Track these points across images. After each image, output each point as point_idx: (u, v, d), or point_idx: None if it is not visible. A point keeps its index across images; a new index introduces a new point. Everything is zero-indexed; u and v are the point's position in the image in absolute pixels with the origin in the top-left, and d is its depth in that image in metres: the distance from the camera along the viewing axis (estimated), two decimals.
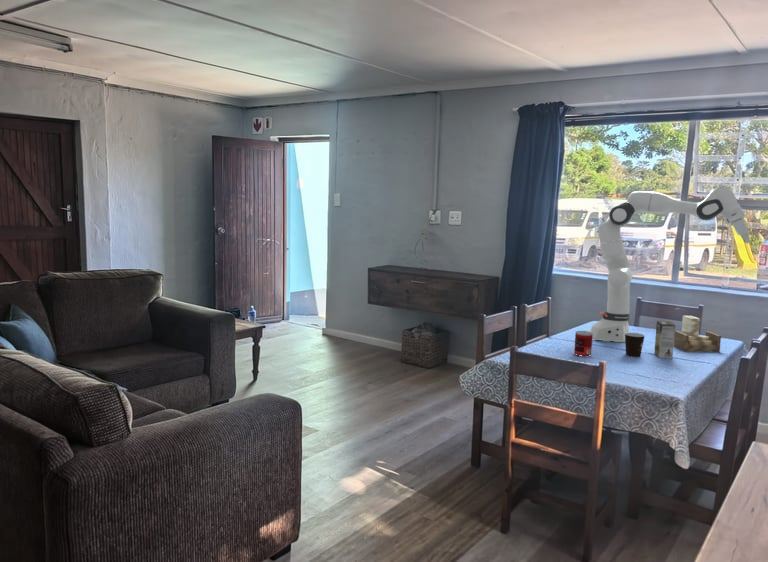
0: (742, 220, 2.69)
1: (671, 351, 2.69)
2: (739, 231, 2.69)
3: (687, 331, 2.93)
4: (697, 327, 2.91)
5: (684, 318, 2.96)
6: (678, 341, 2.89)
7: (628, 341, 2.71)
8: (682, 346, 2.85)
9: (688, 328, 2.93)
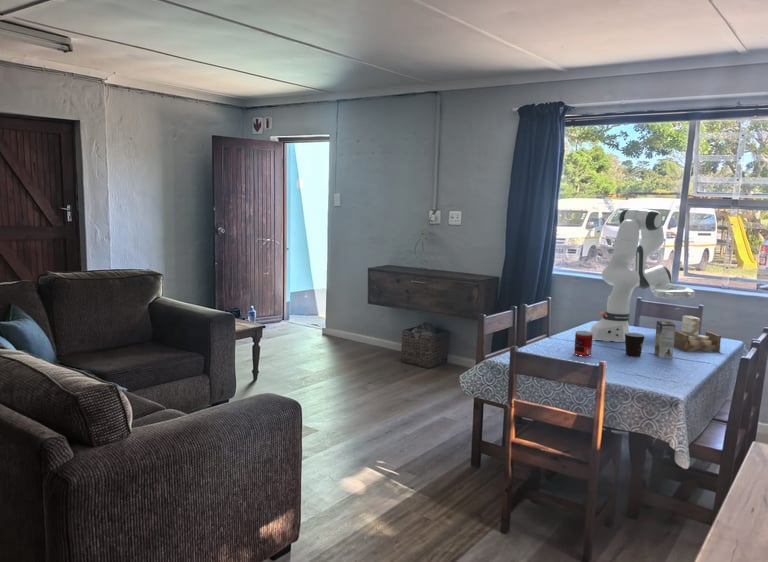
0: None
1: (671, 351, 2.69)
2: None
3: (687, 331, 2.93)
4: (697, 327, 2.91)
5: (684, 318, 2.96)
6: (678, 341, 2.89)
7: (628, 341, 2.71)
8: (682, 346, 2.85)
9: (688, 328, 2.93)
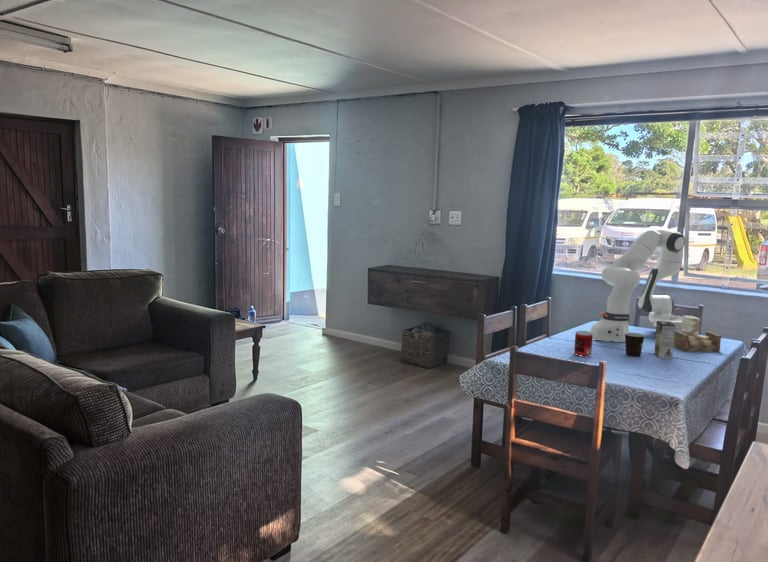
0: None
1: (671, 351, 2.69)
2: None
3: (687, 331, 2.93)
4: (697, 327, 2.91)
5: (684, 318, 2.96)
6: (678, 341, 2.89)
7: (628, 341, 2.71)
8: (682, 346, 2.85)
9: (688, 328, 2.93)
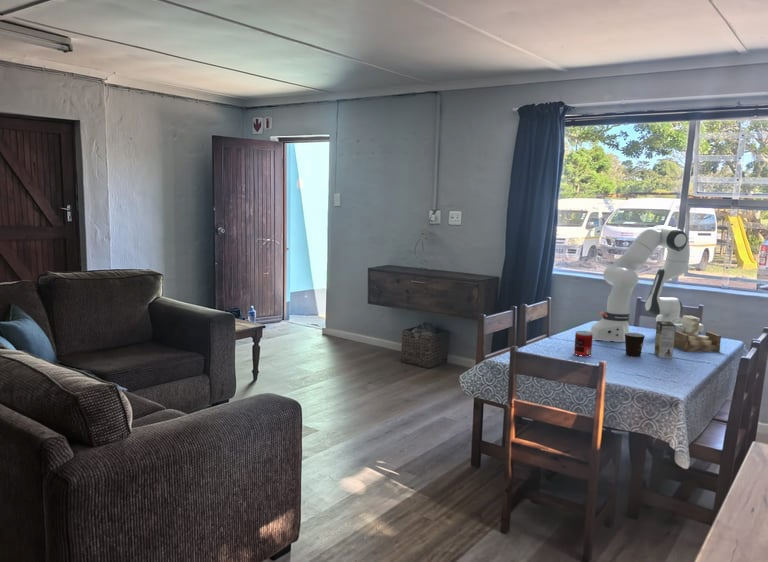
0: None
1: (671, 351, 2.69)
2: None
3: (687, 331, 2.93)
4: (697, 327, 2.91)
5: (684, 318, 2.96)
6: (678, 341, 2.89)
7: (628, 341, 2.71)
8: (682, 346, 2.85)
9: (688, 328, 2.93)
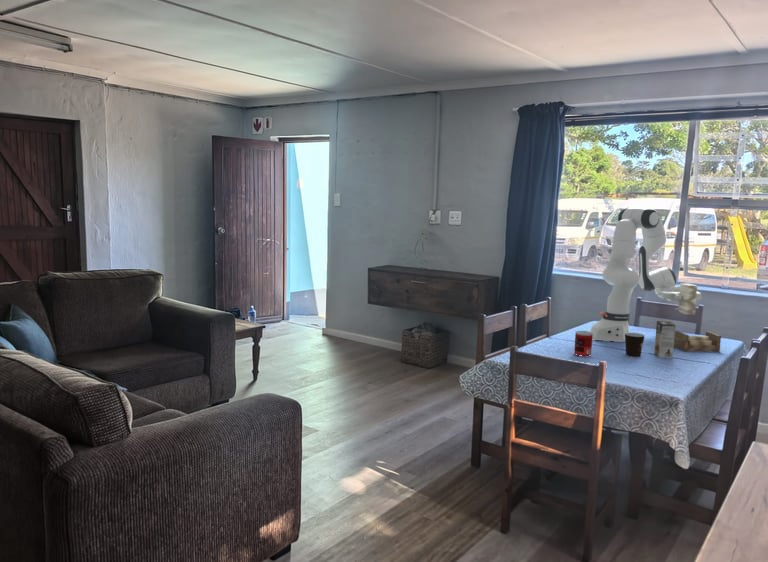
0: None
1: (671, 351, 2.69)
2: None
3: (685, 298, 2.96)
4: (694, 294, 2.93)
5: (682, 286, 2.99)
6: (678, 341, 2.89)
7: (628, 341, 2.71)
8: (682, 346, 2.85)
9: (685, 295, 2.95)
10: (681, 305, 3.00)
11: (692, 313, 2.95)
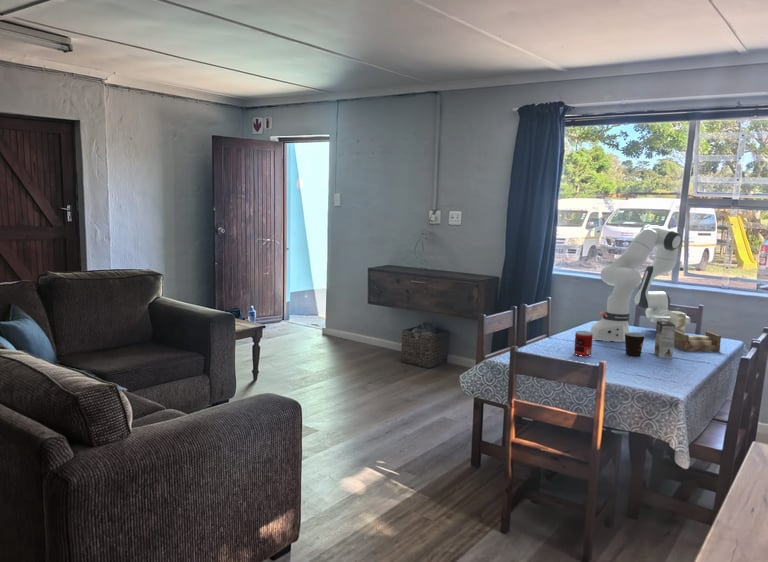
0: None
1: (671, 351, 2.69)
2: None
3: None
4: (683, 322, 3.04)
5: (671, 313, 3.09)
6: (678, 341, 2.89)
7: (628, 341, 2.71)
8: (682, 346, 2.85)
9: (675, 322, 3.05)
10: None
11: None
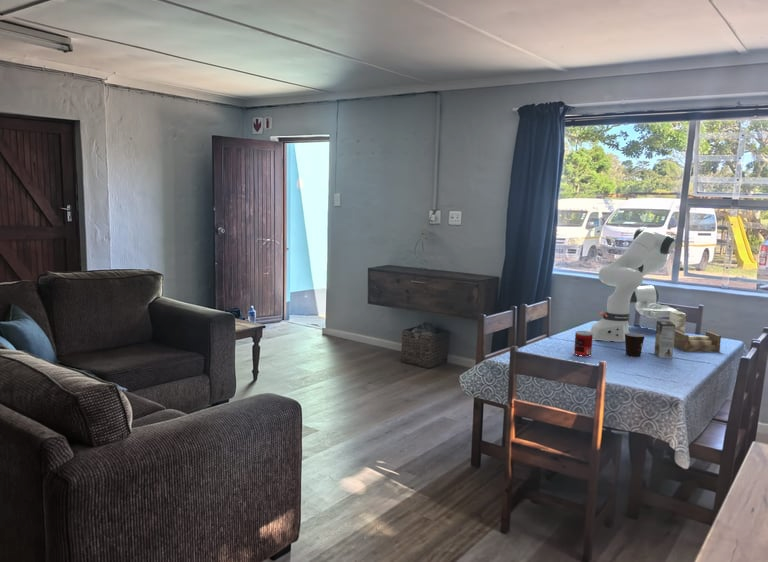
0: None
1: (671, 351, 2.69)
2: None
3: None
4: (683, 322, 3.04)
5: (671, 313, 3.09)
6: (678, 341, 2.89)
7: (628, 341, 2.71)
8: (682, 346, 2.85)
9: (675, 322, 3.05)
10: None
11: None
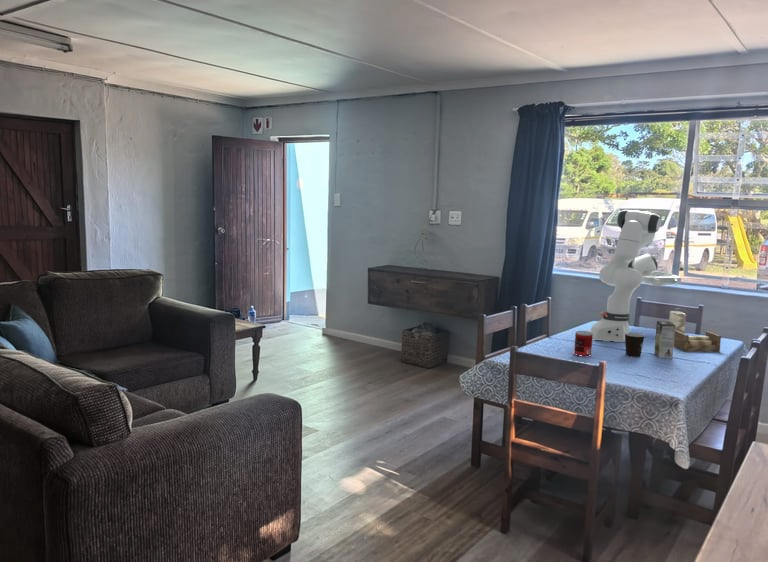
0: None
1: (671, 351, 2.69)
2: None
3: None
4: (683, 322, 3.04)
5: (671, 313, 3.09)
6: (678, 341, 2.89)
7: (628, 341, 2.71)
8: (682, 346, 2.85)
9: (675, 322, 3.05)
10: None
11: None
